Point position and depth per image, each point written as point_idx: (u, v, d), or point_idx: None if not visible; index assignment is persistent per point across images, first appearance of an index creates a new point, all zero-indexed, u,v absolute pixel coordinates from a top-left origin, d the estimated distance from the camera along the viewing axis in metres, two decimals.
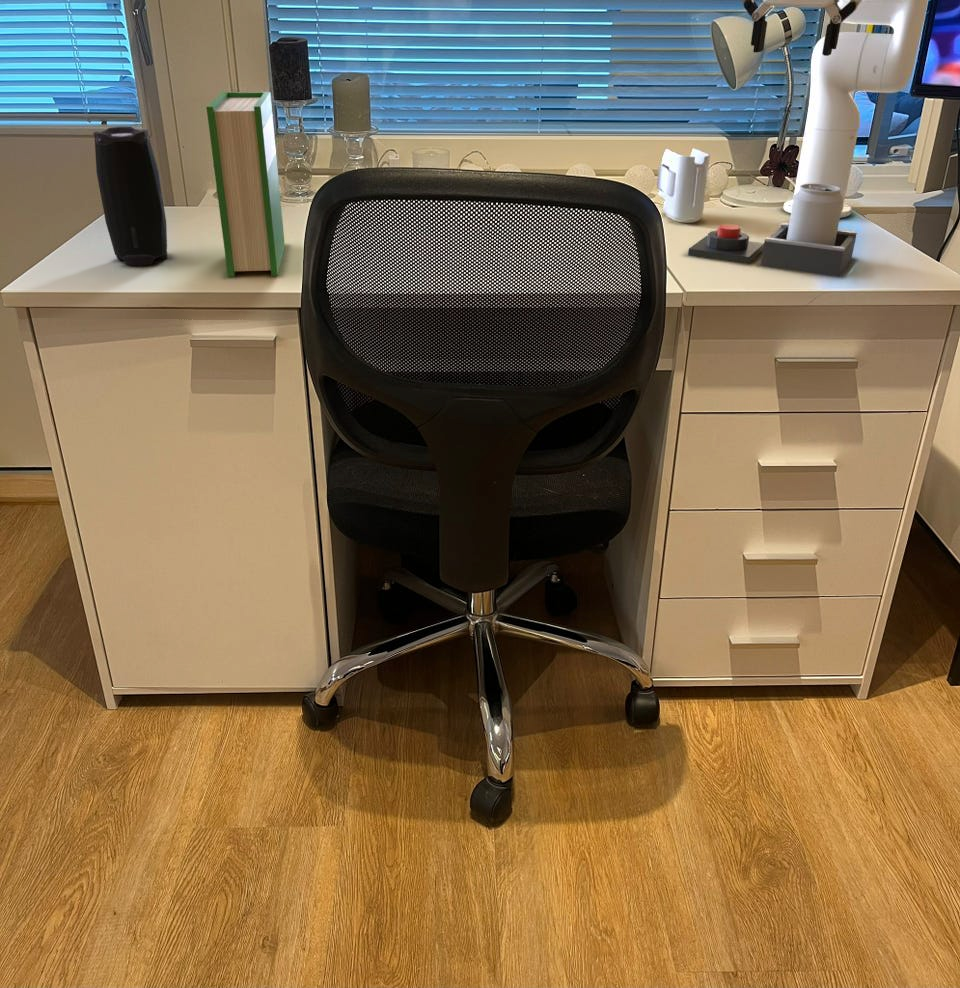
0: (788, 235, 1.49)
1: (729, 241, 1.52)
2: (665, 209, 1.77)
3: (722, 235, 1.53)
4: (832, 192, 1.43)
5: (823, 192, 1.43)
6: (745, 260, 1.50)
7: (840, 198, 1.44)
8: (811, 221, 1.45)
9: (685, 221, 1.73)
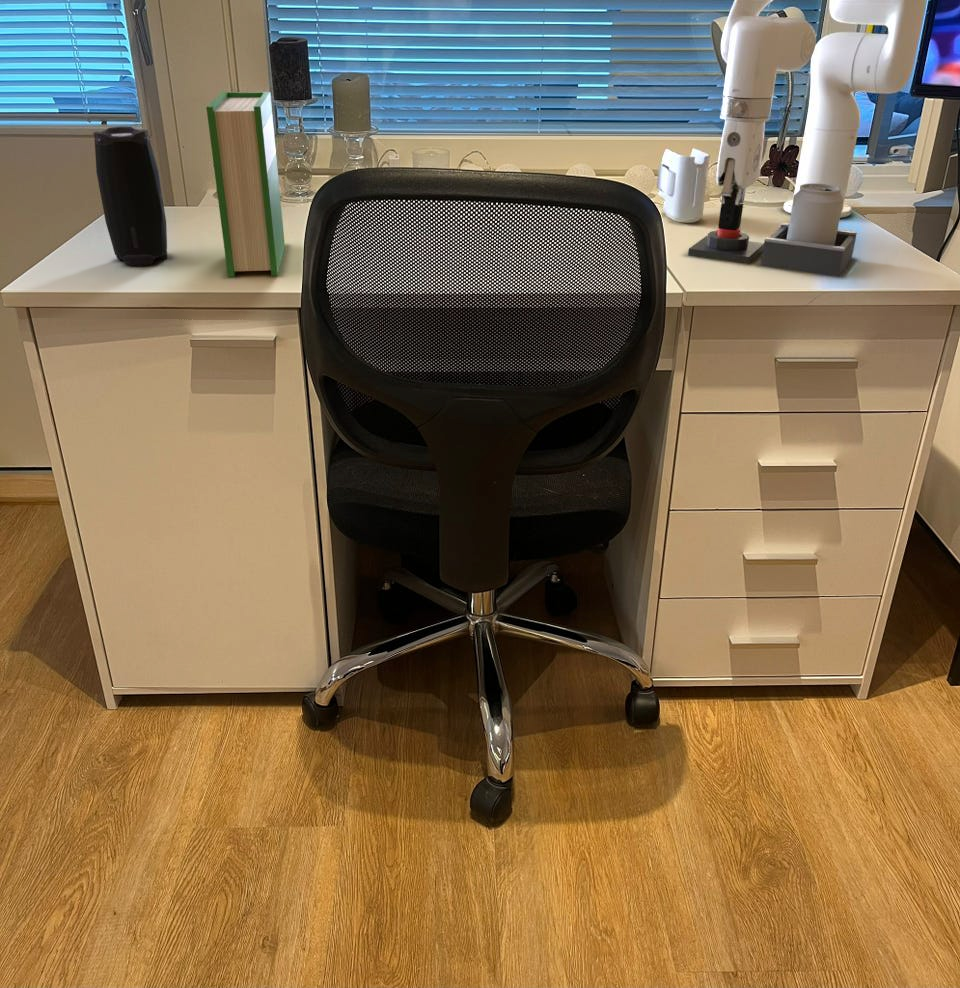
0: (788, 235, 1.49)
1: (729, 241, 1.52)
2: (665, 209, 1.77)
3: None
4: (832, 192, 1.43)
5: (823, 192, 1.43)
6: (745, 260, 1.50)
7: (840, 198, 1.44)
8: (811, 221, 1.45)
9: (685, 221, 1.73)
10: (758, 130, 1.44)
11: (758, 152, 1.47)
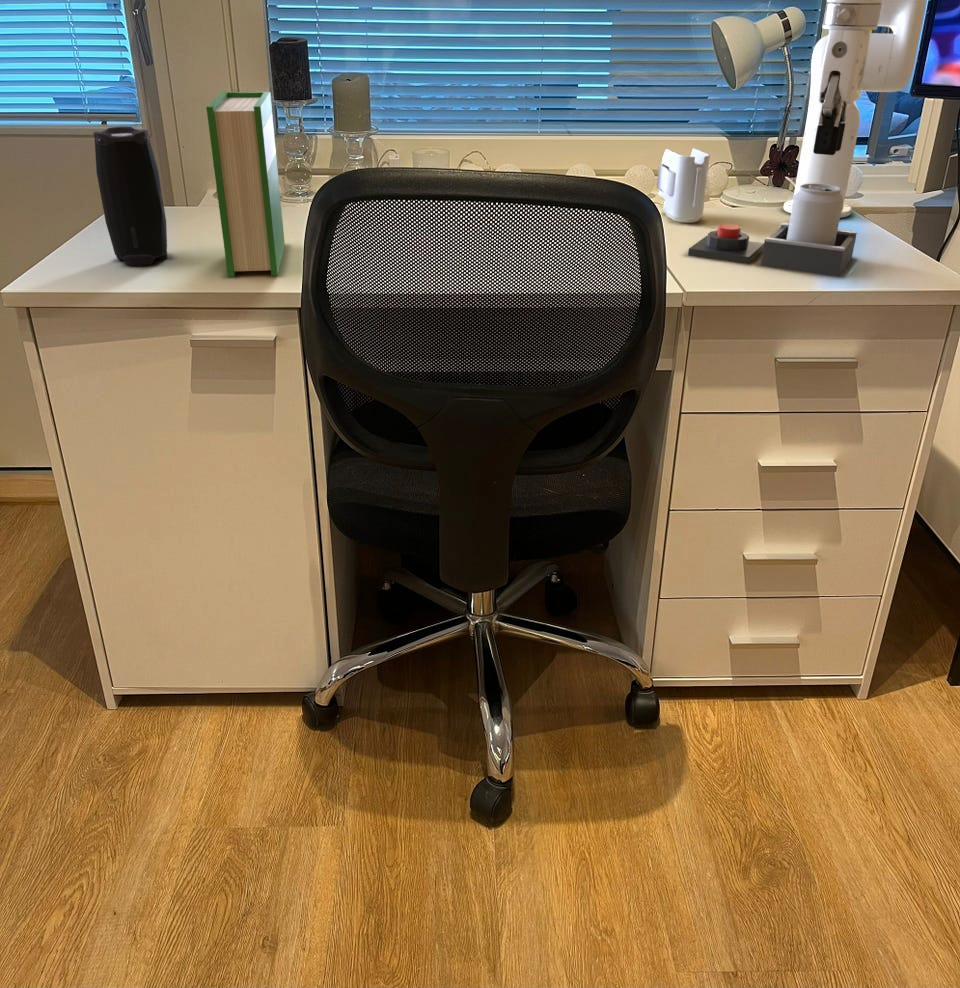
0: (788, 235, 1.49)
1: (729, 241, 1.52)
2: (665, 209, 1.77)
3: (722, 235, 1.53)
4: (832, 192, 1.43)
5: (823, 192, 1.43)
6: (745, 260, 1.50)
7: (840, 198, 1.44)
8: (811, 221, 1.45)
9: (685, 221, 1.73)
10: (865, 40, 1.33)
11: (863, 66, 1.36)
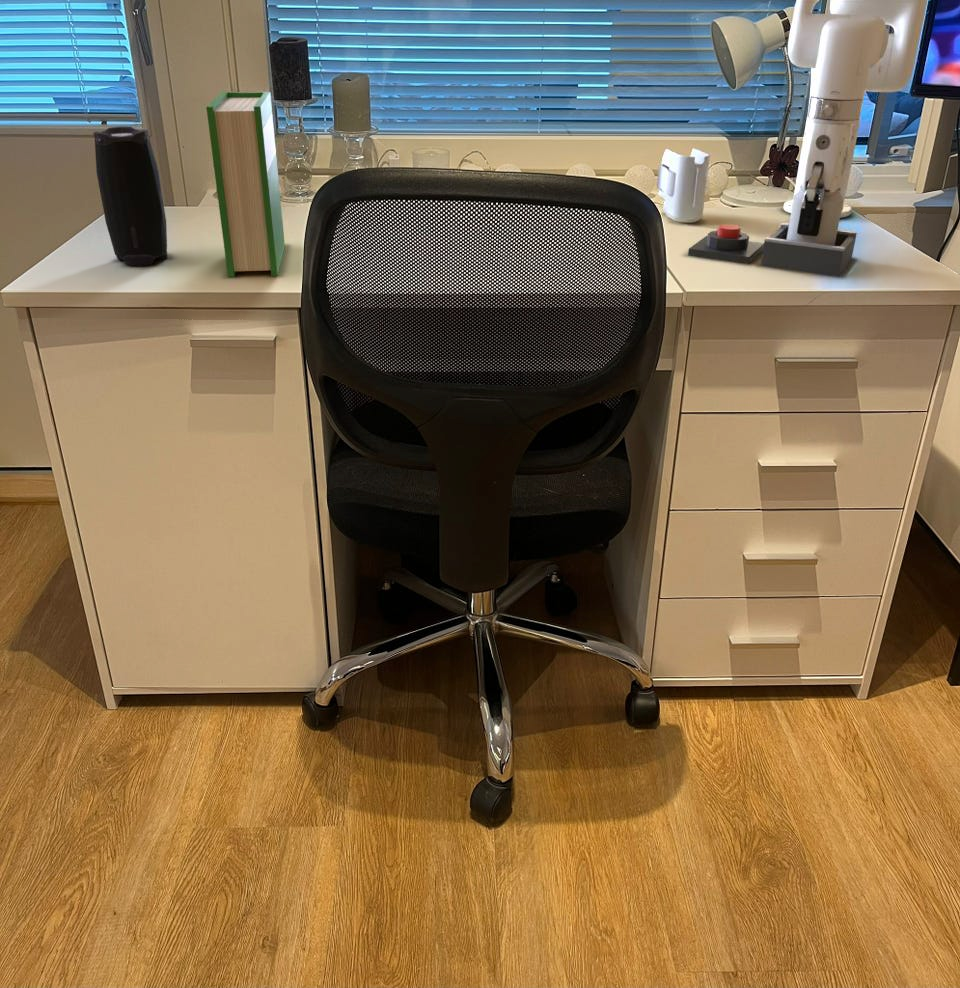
0: (788, 235, 1.49)
1: (729, 241, 1.52)
2: (665, 209, 1.77)
3: (722, 235, 1.53)
4: None
5: None
6: (745, 260, 1.50)
7: (840, 198, 1.44)
8: None
9: (685, 221, 1.73)
10: (848, 132, 1.39)
11: (846, 155, 1.43)
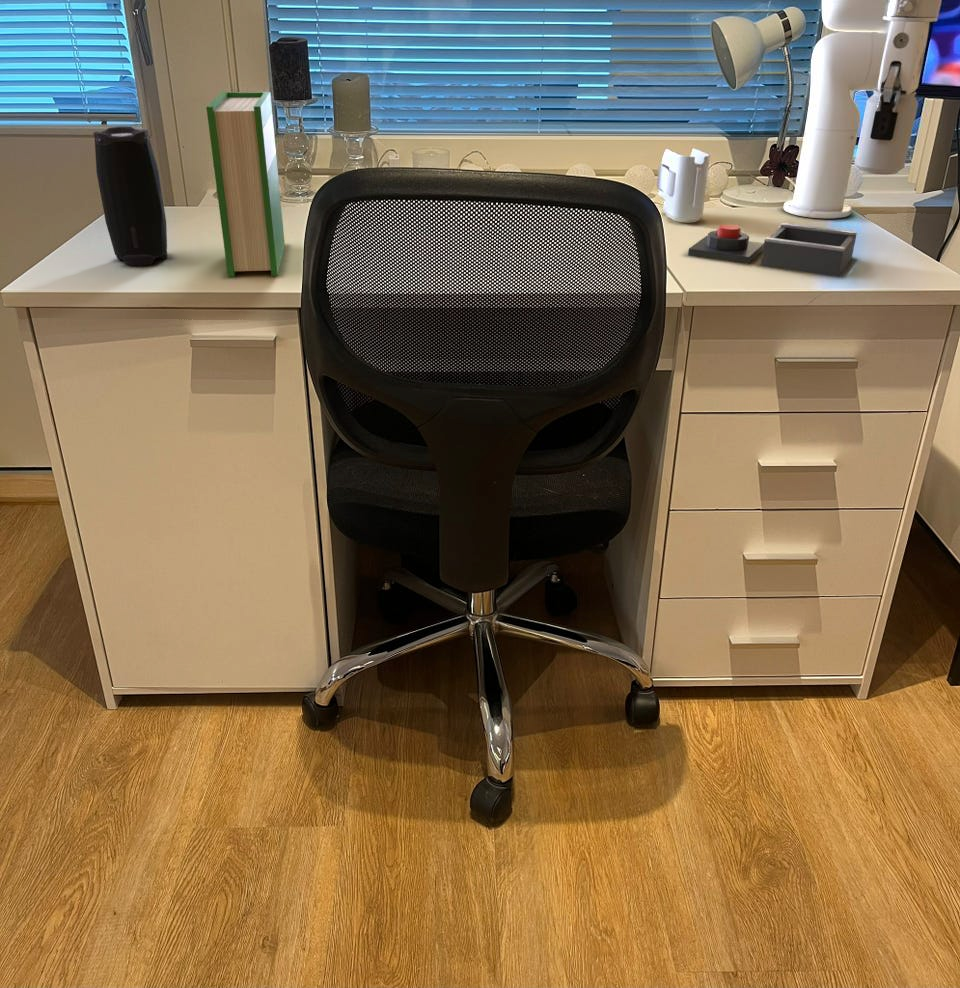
0: (860, 142, 1.47)
1: (729, 241, 1.52)
2: (665, 209, 1.77)
3: (722, 235, 1.53)
4: None
5: None
6: (745, 260, 1.50)
7: (915, 101, 1.42)
8: None
9: (685, 221, 1.73)
10: (926, 31, 1.37)
11: (922, 56, 1.40)
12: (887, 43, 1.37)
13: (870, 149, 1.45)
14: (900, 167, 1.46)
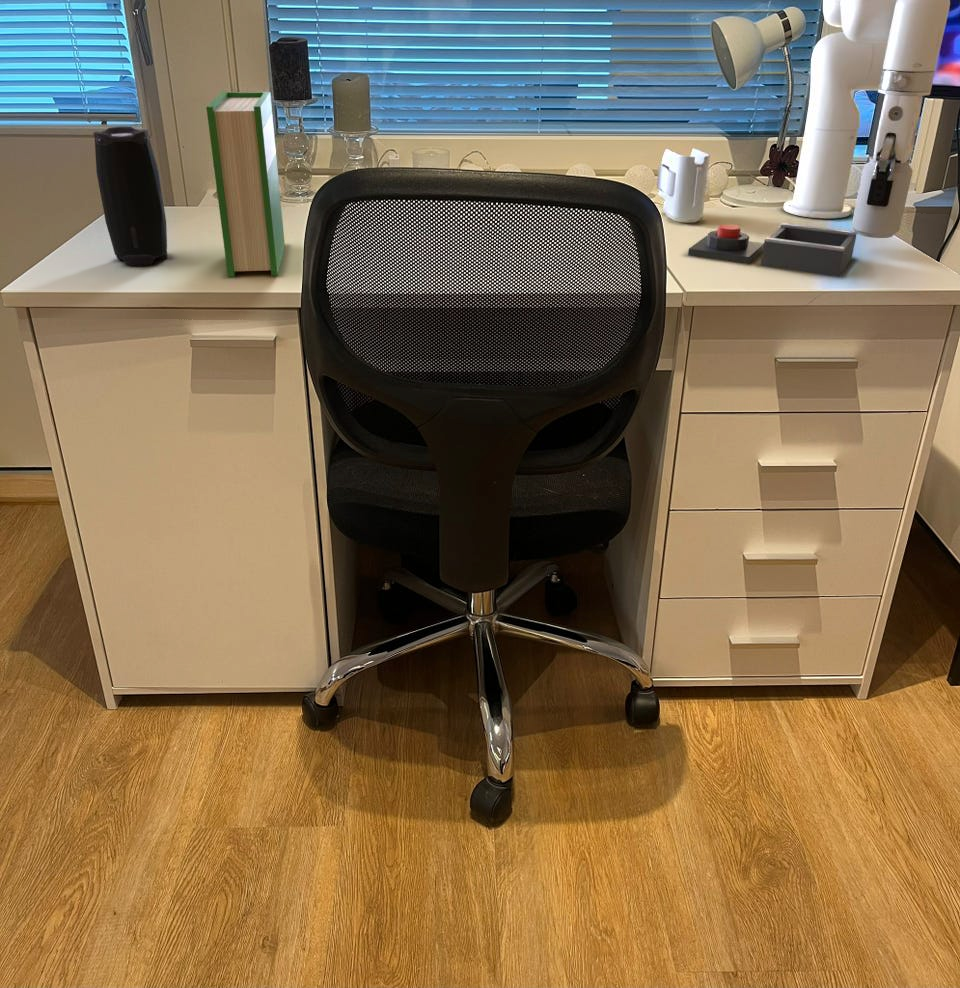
0: (857, 206, 1.53)
1: (729, 241, 1.52)
2: (665, 209, 1.77)
3: (722, 235, 1.53)
4: None
5: None
6: (745, 260, 1.50)
7: (910, 169, 1.48)
8: None
9: (685, 221, 1.73)
10: (919, 104, 1.43)
11: (915, 127, 1.46)
12: (882, 115, 1.43)
13: (866, 214, 1.51)
14: (895, 231, 1.52)
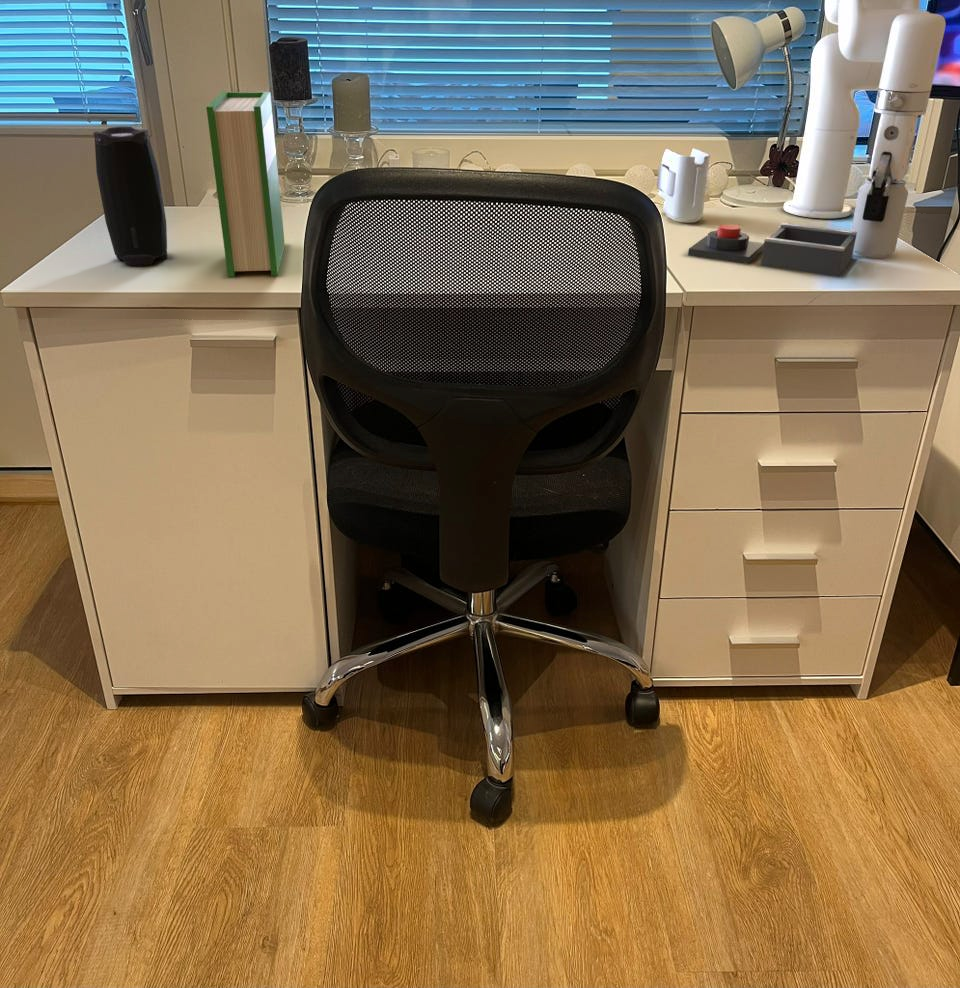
0: (853, 227, 1.54)
1: (729, 241, 1.52)
2: (665, 209, 1.77)
3: (722, 235, 1.53)
4: (898, 185, 1.48)
5: None
6: (745, 260, 1.50)
7: (905, 191, 1.49)
8: None
9: (685, 221, 1.73)
10: (915, 123, 1.44)
11: (911, 145, 1.47)
12: (878, 135, 1.44)
13: (862, 235, 1.52)
14: (891, 251, 1.53)
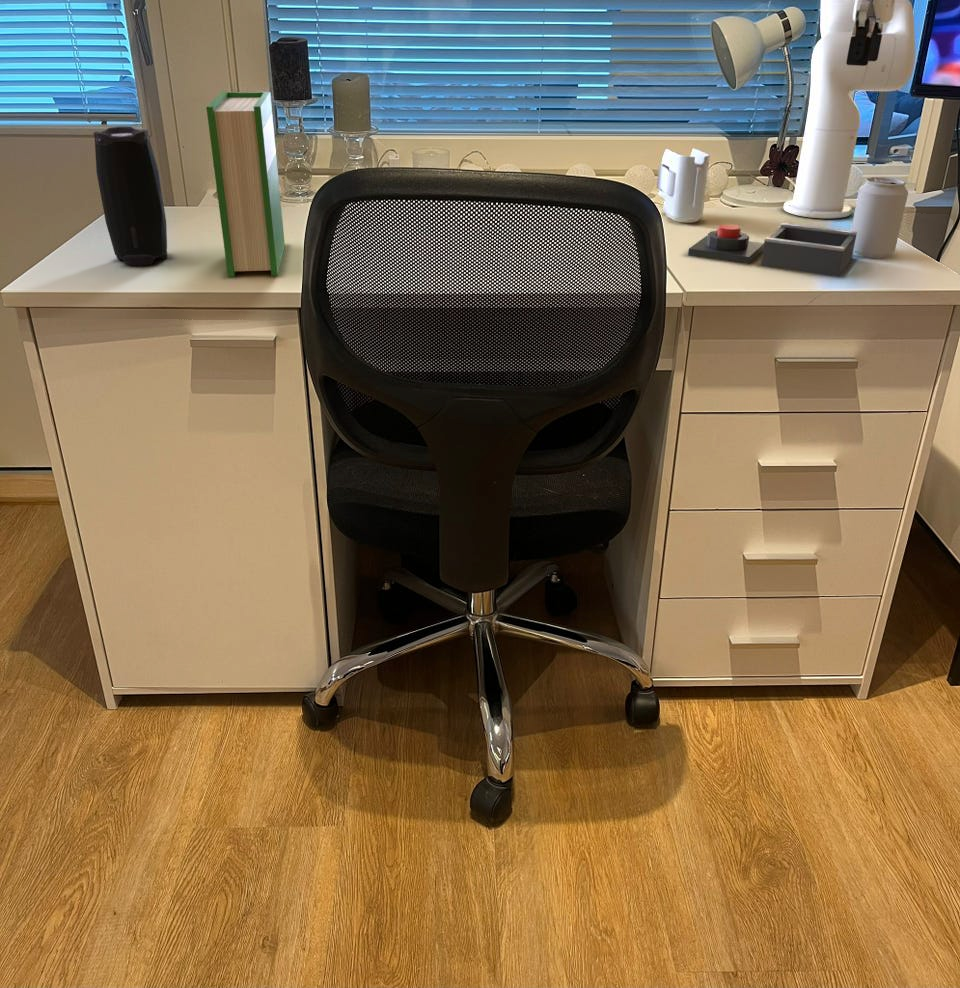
0: (853, 227, 1.54)
1: (729, 241, 1.52)
2: (665, 209, 1.77)
3: (722, 235, 1.53)
4: (898, 185, 1.48)
5: (889, 185, 1.48)
6: (745, 260, 1.50)
7: (905, 191, 1.49)
8: (877, 213, 1.50)
9: (685, 221, 1.73)
10: None
11: None
12: None
13: (862, 235, 1.52)
14: (891, 251, 1.53)
